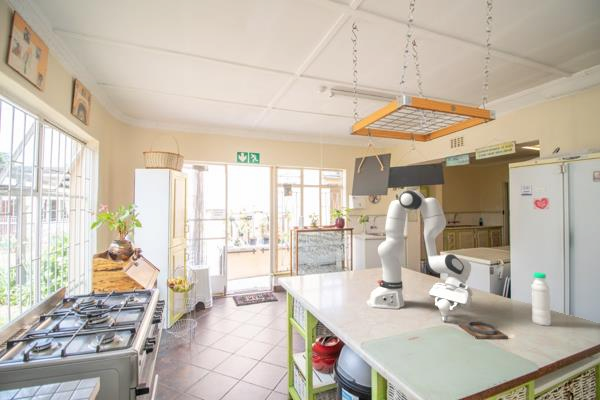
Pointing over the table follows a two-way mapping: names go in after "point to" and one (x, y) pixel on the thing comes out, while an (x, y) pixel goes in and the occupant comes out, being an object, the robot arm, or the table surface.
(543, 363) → the table surface
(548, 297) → the water bottle
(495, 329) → the collar
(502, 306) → the table surface
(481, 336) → the board
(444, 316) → the lightbulb
